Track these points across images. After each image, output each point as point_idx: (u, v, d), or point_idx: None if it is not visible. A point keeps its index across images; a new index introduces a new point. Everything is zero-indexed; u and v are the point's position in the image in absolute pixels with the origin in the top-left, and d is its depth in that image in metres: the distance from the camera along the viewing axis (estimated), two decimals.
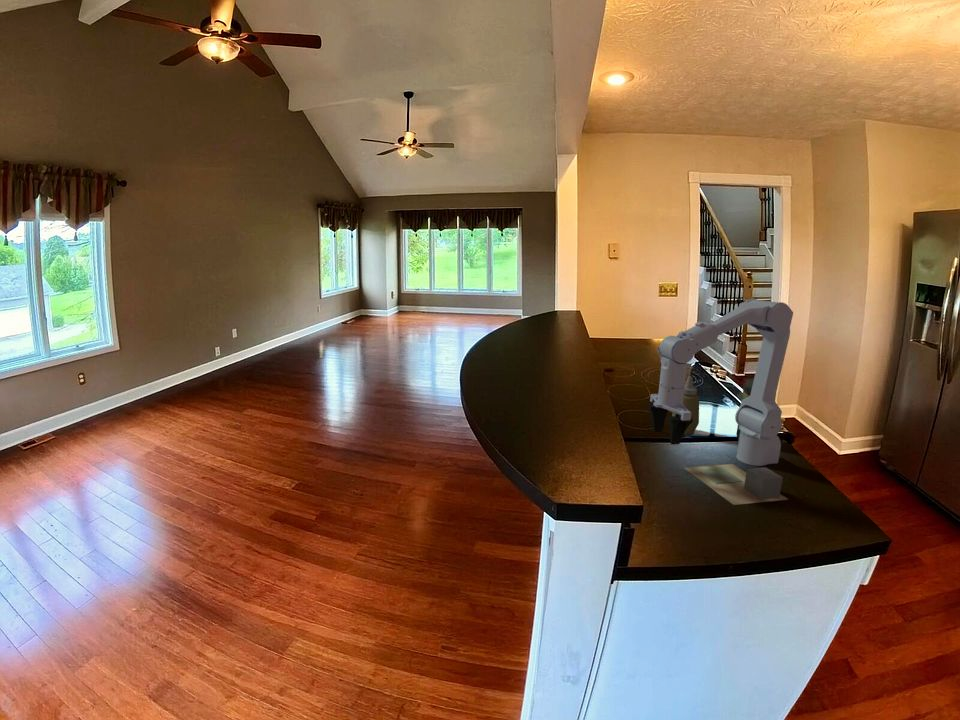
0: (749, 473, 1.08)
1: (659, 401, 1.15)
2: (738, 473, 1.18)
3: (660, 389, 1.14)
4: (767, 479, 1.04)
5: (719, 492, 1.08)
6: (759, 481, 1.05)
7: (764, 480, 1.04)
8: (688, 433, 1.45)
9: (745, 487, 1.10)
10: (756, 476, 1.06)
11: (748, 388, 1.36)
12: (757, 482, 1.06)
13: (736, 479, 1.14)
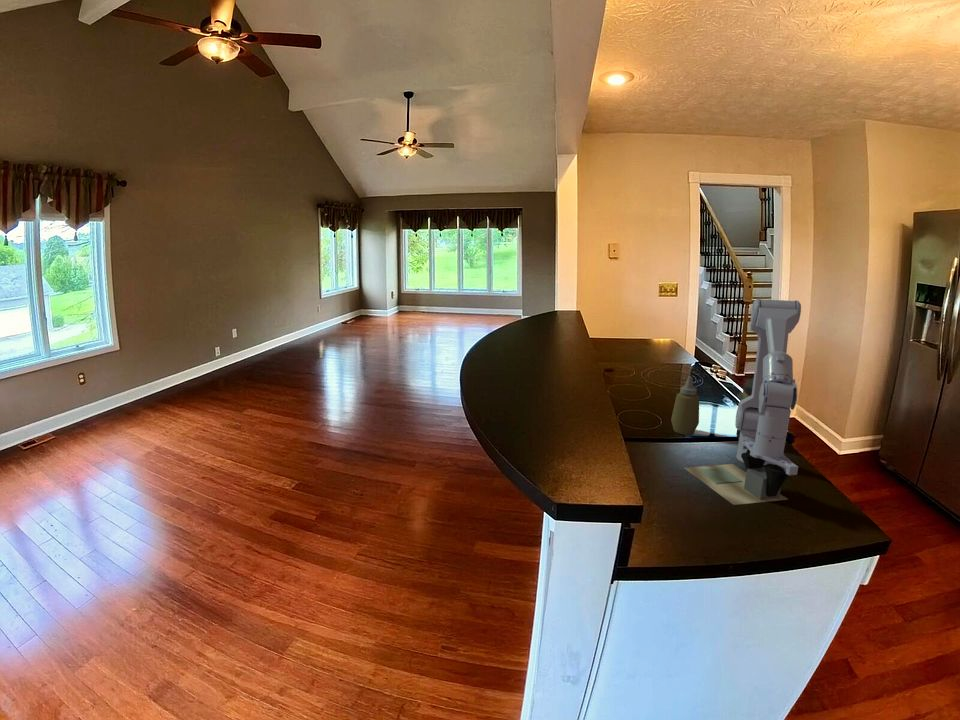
0: (749, 473, 1.08)
1: (757, 451, 1.05)
2: (738, 473, 1.18)
3: (758, 438, 1.05)
4: None
5: (719, 492, 1.08)
6: (759, 481, 1.05)
7: (764, 480, 1.04)
8: (688, 433, 1.45)
9: (745, 487, 1.10)
10: (756, 476, 1.06)
11: (748, 388, 1.36)
12: (757, 482, 1.06)
13: (736, 479, 1.14)
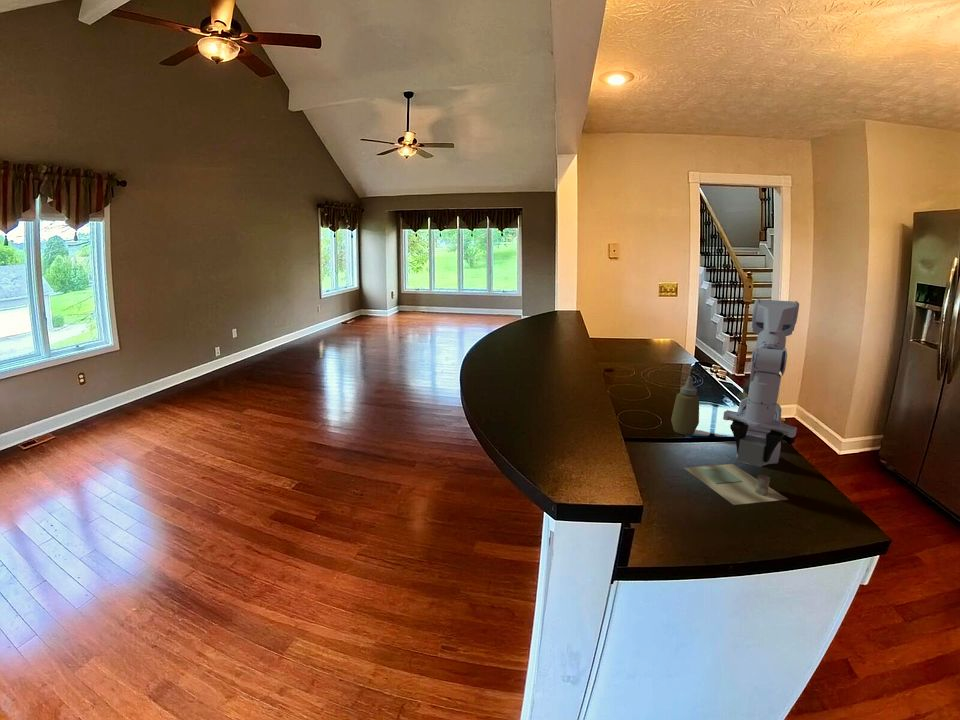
0: (743, 443, 1.07)
1: (754, 420, 1.05)
2: (738, 473, 1.18)
3: (755, 407, 1.04)
4: (765, 446, 1.05)
5: (719, 492, 1.08)
6: (758, 450, 1.05)
7: (764, 447, 1.05)
8: (688, 433, 1.45)
9: (739, 458, 1.09)
10: (754, 445, 1.06)
11: (748, 388, 1.36)
12: (755, 451, 1.06)
13: (736, 479, 1.14)
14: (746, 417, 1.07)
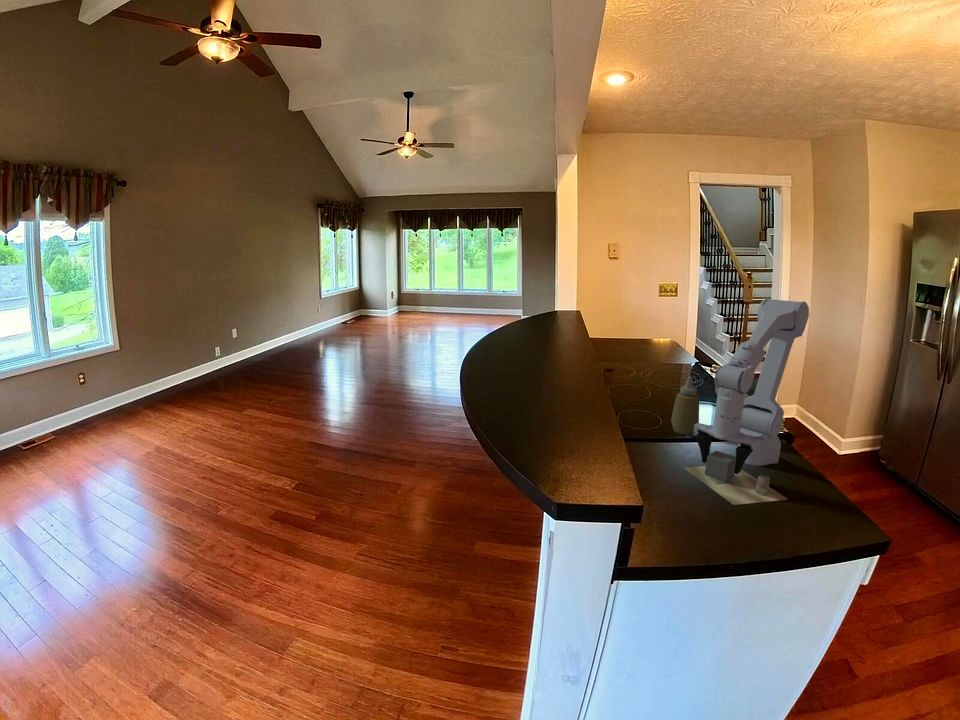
0: (710, 459, 1.15)
1: (720, 433, 1.11)
2: None
3: (721, 420, 1.11)
4: (730, 462, 1.12)
5: (719, 492, 1.08)
6: (723, 466, 1.12)
7: (728, 463, 1.12)
8: (688, 433, 1.45)
9: (706, 473, 1.16)
10: (720, 462, 1.13)
11: None
12: (721, 467, 1.13)
13: (736, 479, 1.14)
14: (714, 430, 1.13)
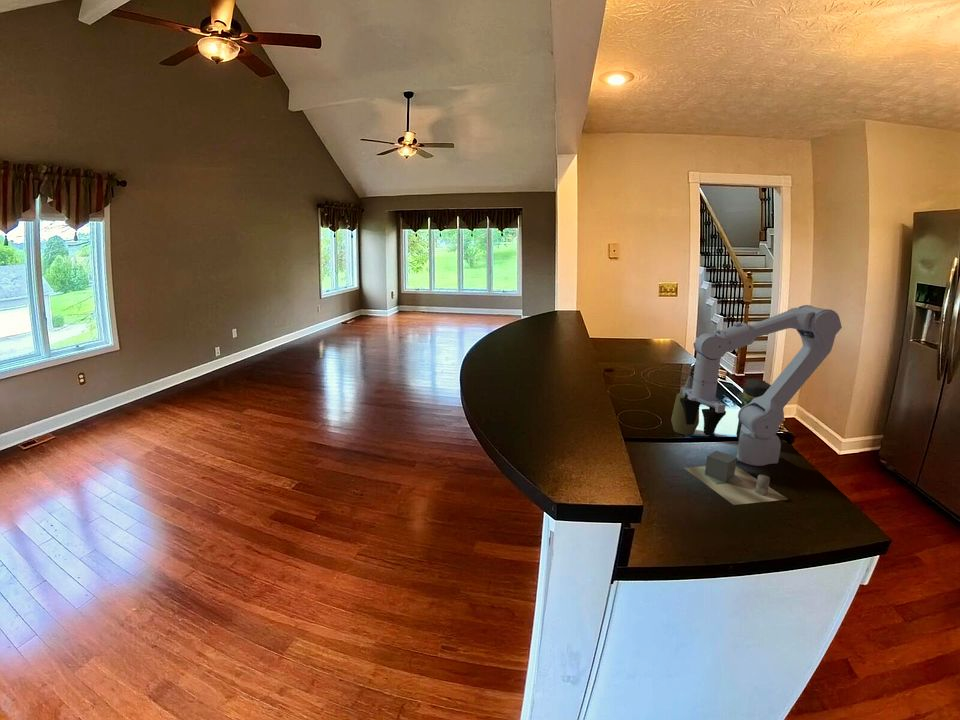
0: (710, 459, 1.15)
1: (693, 395, 1.22)
2: (738, 473, 1.18)
3: (694, 383, 1.22)
4: (730, 462, 1.12)
5: (719, 492, 1.08)
6: (723, 466, 1.12)
7: (728, 463, 1.12)
8: (688, 433, 1.45)
9: (706, 473, 1.16)
10: (720, 462, 1.13)
11: (748, 388, 1.36)
12: (721, 467, 1.13)
13: (736, 479, 1.14)
14: (691, 393, 1.24)
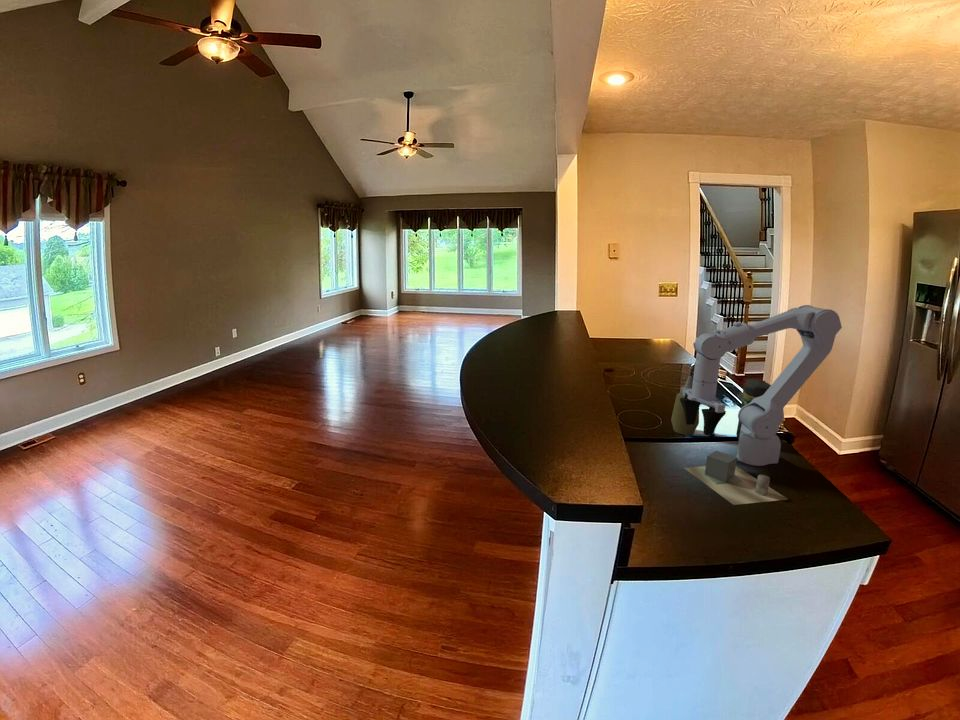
0: (710, 459, 1.15)
1: (693, 395, 1.22)
2: (738, 473, 1.18)
3: (694, 383, 1.22)
4: (730, 462, 1.12)
5: (719, 492, 1.08)
6: (723, 466, 1.12)
7: (728, 463, 1.12)
8: (688, 433, 1.45)
9: (706, 473, 1.16)
10: (720, 462, 1.13)
11: (748, 388, 1.36)
12: (721, 467, 1.13)
13: (736, 479, 1.14)
14: (691, 393, 1.24)
